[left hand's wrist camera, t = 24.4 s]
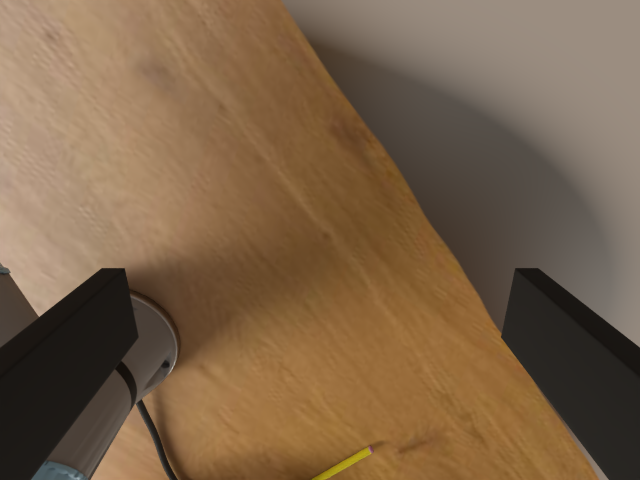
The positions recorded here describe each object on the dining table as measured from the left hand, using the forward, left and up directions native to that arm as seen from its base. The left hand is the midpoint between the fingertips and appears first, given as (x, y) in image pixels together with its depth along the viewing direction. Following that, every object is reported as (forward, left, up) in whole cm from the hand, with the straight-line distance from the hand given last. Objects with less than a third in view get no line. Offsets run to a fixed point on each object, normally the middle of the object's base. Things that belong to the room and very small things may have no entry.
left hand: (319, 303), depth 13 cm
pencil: (-43, +20, -30) cm, 56 cm away
